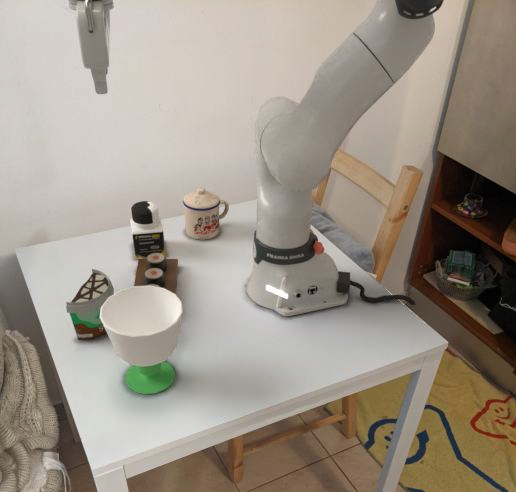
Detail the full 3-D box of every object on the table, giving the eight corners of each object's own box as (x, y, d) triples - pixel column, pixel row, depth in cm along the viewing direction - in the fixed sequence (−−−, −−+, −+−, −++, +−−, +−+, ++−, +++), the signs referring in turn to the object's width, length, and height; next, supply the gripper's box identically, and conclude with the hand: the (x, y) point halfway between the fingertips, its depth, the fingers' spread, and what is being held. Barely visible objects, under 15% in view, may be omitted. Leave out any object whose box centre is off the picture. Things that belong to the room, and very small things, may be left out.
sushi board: (178, 265, 129) (177, 247, 126) (174, 319, 115) (172, 300, 111) (139, 266, 129) (137, 247, 125) (130, 320, 114) (127, 301, 111)
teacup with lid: (194, 244, 137) (192, 200, 129) (178, 227, 142) (176, 185, 135) (236, 232, 142) (237, 190, 134) (220, 217, 147) (219, 175, 140)
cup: (196, 394, 99) (192, 326, 89) (118, 412, 95) (105, 343, 85) (178, 345, 109) (173, 279, 98) (107, 359, 105) (94, 292, 94)
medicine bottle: (135, 259, 131) (129, 214, 123) (133, 243, 136) (127, 199, 128) (165, 256, 132) (161, 211, 124) (162, 241, 137) (158, 196, 129)
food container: (104, 349, 107) (96, 309, 100) (74, 344, 108) (64, 303, 101) (128, 311, 116) (122, 271, 109) (100, 306, 117) (93, 267, 110)
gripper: (110, -5, 72) (123, 104, 81) (110, -31, 87) (121, 64, 96) (60, -6, 71) (79, 105, 80) (69, -32, 86) (84, 64, 95)
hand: (102, 83), depth 88 cm, fingers open, 8 cm apart
